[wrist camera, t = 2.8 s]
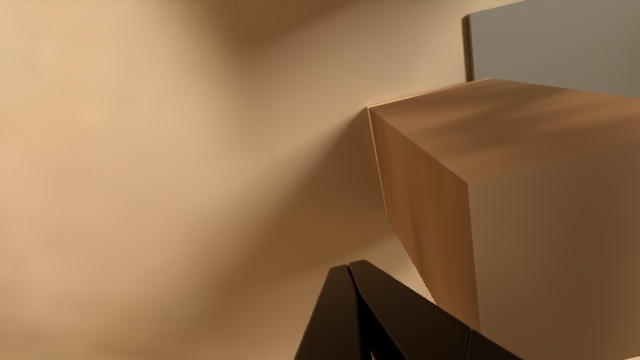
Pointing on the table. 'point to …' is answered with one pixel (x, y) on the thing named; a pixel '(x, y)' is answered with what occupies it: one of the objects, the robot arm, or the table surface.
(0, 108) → the table surface
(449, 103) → the walnut block
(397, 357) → the robot arm
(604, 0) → the felt pad
